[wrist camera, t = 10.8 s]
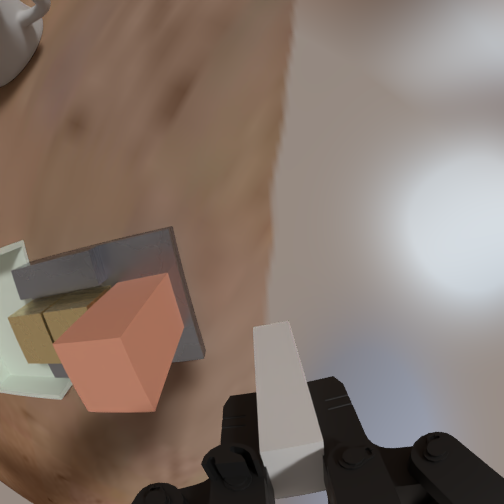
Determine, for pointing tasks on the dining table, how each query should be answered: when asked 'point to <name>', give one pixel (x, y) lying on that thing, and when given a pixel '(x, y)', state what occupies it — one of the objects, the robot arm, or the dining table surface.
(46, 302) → the chip
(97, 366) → the salmon pink flat-faced block
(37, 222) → the dining table surface
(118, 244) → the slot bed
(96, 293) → the chip
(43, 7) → the mug
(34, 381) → the tray
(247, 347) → the dining table surface
